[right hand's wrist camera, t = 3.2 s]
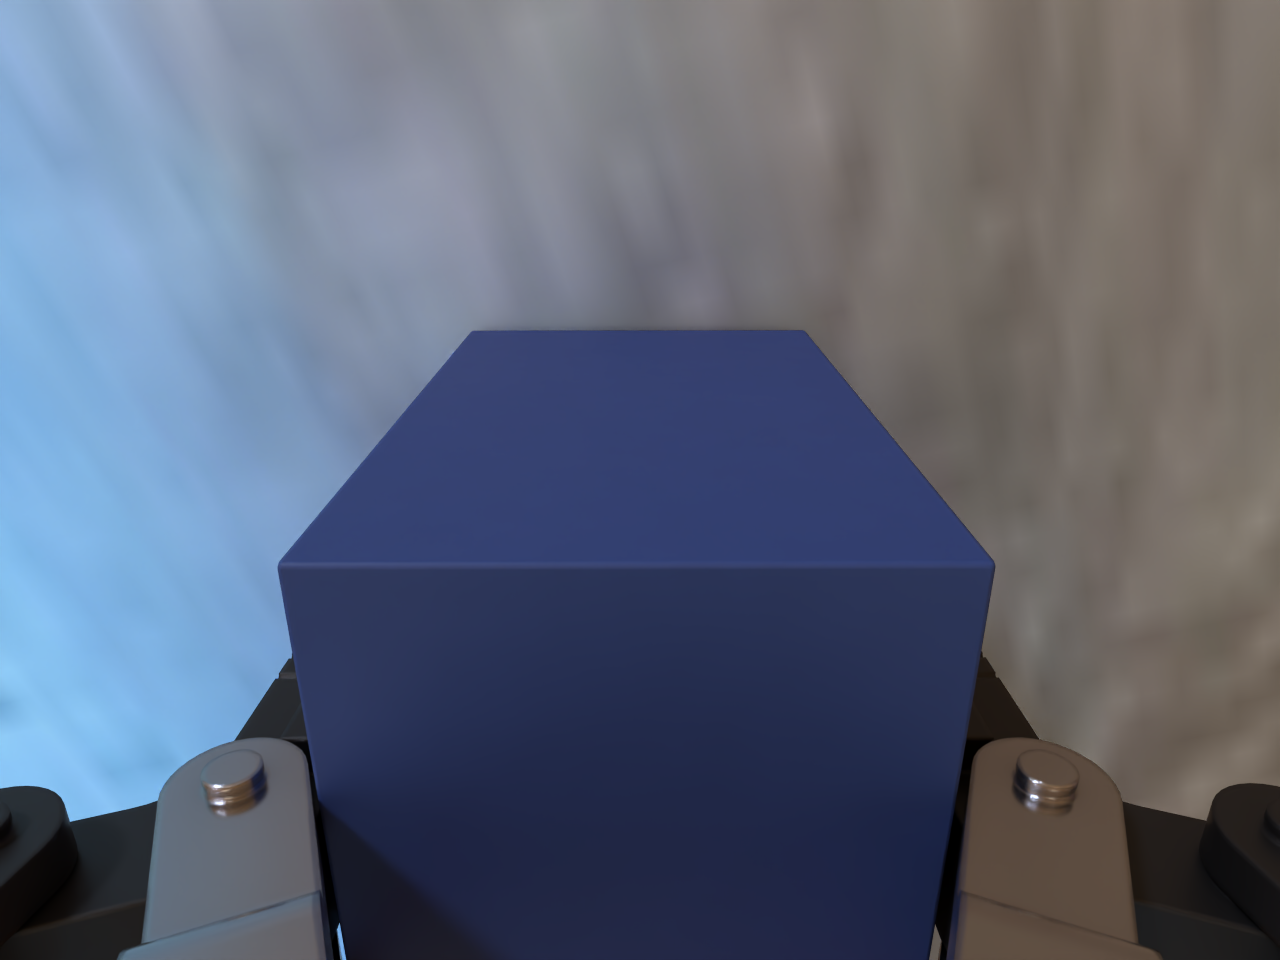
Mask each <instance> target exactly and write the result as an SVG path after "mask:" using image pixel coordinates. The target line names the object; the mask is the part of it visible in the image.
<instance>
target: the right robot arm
mask: <svg viewBox="0 0 1280 960" xmlns="http://www.w3.org/2000/svg"><path fill="white" fill-rule="evenodd" d="M339 923H340V921H339V915H338V909H337V904H336V898H335V892H334V887H333V881H332V875H331V870H330V864H329V858H328V852H327V847H326V841H325V835H324V830H323V824H322V818H321V813H320V807H319V801H318V795H317V790H316V784H315V778H314V773H313V767H312V761H311V756H310V750H309V744H308V739H307V733H306V727H305V721H304V716H303V710H302V704H301V699H300V693H299V687H298V682H297V676H296V670H295V664H294V659H293V653H292V659H288V661H287V662H286V664H285V665H284V667H283V668H282V670H281V671H280V673H279V678H278V679H275V680H274V682H273V683H272V685H271V686H270V688H269V689H268V691H267V692H266V694H265V695H264V697H263V698H262V700H261V701H260V703H259V704H258V706H257V707H256V709H255V710H254V712H253V713H252V715H251V716H250V718H249V719H248V721H247V722H246V724H245V726H244V727H243V729H242V730H241V732H240V733H239V735H238V736H237V738H236V739H235V741H233V742H229V743H226V744H222V745H220V746H217V747H214V748H212V749H209V750H207V751H205V752H203V753H201V754H199V755H198V756H196V757H194V758H193V759H191V760H189V761H188V762H187V763H185V764H184V765H183V766H181V767H180V768H179V769H178V770H177V771H176V772H175V773H174V774H173V775H172V776H171V777H170V778H169V779H168V780H167V782H166V783H165V784H164V786H163V788H162V790H161V792H160V794H159V798H158V801H155V802H152V803H150V804H147V805H143V806H139V807H135V808H131V809H127V810H122V811H118V812H113V813H109V814H104V815H99V816H95V817H90V818H86V819H81V820H77V821H72V822H70V821H69V818H68V814H67V811H66V808H65V805H64V802H63V801H62V799H61V797H60V796H59V795H58V794H56V793H55V792H53V791H51V790H49V789H46V788H42V787H35V786H16V787H8V788H2V789H0V960H342V955H341V949H340V944H339V938H338V932H337V928H338V925H339ZM935 924H936V927H937V930H938V932H939V935H940V938H941V944H940V949H939V955H938V960H1280V787H1278V786H1273V785H1266V784H1254V783H1247V784H1237V785H1233V786H1229V787H1227V788H1225V789H1222V790H1221V791H1220V792H1219V793H1218V794H1216V796H1215V798H1214V800H1213V802H1212V805H1211V808H1210V811H1209V815H1208V818H1207V821H1204V820H1200V819H1195V818H1191V817H1186V816H1182V815H1177V814H1173V813H1168V812H1163V811H1159V810H1154V809H1150V808H1145V807H1141V806H1137V805H1133V804H1129V803H1125V802H1123V801H1122V798H1121V795H1120V792H1119V790H1118V788H1117V786H1116V784H1115V783H1114V782H1113V780H1112V779H1111V778H1110V777H1109V776H1108V775H1107V774H1106V773H1105V772H1104V771H1103V770H1102V769H1101V768H1100V767H1099V766H1097V765H1096V764H1095V763H1093V762H1092V761H1091V760H1089V759H1087V758H1086V757H1084V756H1082V755H1081V754H1079V753H1077V752H1075V751H1073V750H1071V749H1068V748H1066V747H1063V746H1060V745H1058V744H1054V743H1051V742H1047V741H1043V740H1039V738H1038V737H1037V735H1036V734H1035V732H1034V731H1033V729H1032V728H1031V726H1030V724H1029V723H1028V721H1027V720H1026V718H1025V717H1024V715H1023V714H1022V712H1021V711H1020V709H1019V708H1018V706H1017V705H1016V703H1015V702H1014V700H1013V699H1012V697H1011V695H1010V694H1009V692H1008V691H1007V689H1006V688H1005V686H1004V685H1003V683H1002V682H1001V680H1000V679H999V678H996V676H995V671H994V669H993V668H992V666H991V665H990V663H989V662H988V660H987V659H986V658H983V655H982V651H981V655H980V661H979V667H978V673H977V678H976V684H975V690H974V696H973V702H972V708H971V714H970V720H969V726H968V732H967V738H966V744H965V749H964V755H963V761H962V767H961V773H960V779H959V785H958V791H957V797H956V803H955V809H954V815H953V820H952V826H951V832H950V838H949V844H948V850H947V856H946V862H945V868H944V874H943V880H942V886H941V891H940V897H939V903H938V909H937V915H936V921H935Z"/></svg>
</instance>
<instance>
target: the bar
mask: <svg viewBox="0 0 1280 960" xmlns="http://www.w3.org/2000/svg"><path fill="white" fill-rule="evenodd" d="M994 572H995V563H994V561H993V559H992V558H991V557H990V556H989V555H988V553H987V552H986V551H985V550H984V548H983V547H982V546H981V545H980V544H979V542H978V541H977V540H976V539H975V538H974V536H973V535H972V534H971V533H970V531H969V530H968V529H967V528H966V527H965V525H964V524H963V523H962V522H961V521H960V519H959V518H958V517H957V516H956V514H955V513H954V512H953V511H952V510H951V508H950V507H949V506H948V505H947V503H946V502H945V501H944V500H943V499H942V497H941V496H940V495H939V494H938V493H937V491H936V490H935V489H934V488H933V486H932V485H931V484H930V483H929V482H928V480H927V479H926V478H925V477H924V476H923V474H922V473H921V472H920V471H919V469H918V468H917V467H916V466H915V465H914V463H913V462H912V461H911V460H910V458H909V457H908V456H907V455H906V454H905V452H904V451H903V450H902V449H901V448H900V446H899V445H898V444H897V443H896V441H895V440H894V439H893V438H892V437H891V435H890V434H889V433H888V432H887V430H886V429H885V428H884V427H883V426H882V424H881V423H880V422H879V421H878V420H877V418H876V417H875V416H874V415H873V413H872V412H871V411H870V410H869V409H868V407H867V406H866V405H865V404H864V403H863V401H862V400H861V399H860V398H859V396H858V395H857V394H856V393H855V392H854V390H853V389H852V388H851V387H850V385H849V384H848V383H847V382H846V381H845V379H844V378H843V377H842V376H841V375H840V373H839V372H838V371H837V370H836V368H835V367H834V366H833V365H832V364H831V362H830V361H829V360H828V359H827V357H826V356H825V355H824V354H823V353H822V351H821V350H820V349H819V348H818V347H817V345H816V344H815V343H814V342H813V340H812V339H811V338H810V337H809V336H808V334H807V333H806V332H805V331H803V330H750V331H472V332H471V333H470V334H469V335H468V336H467V338H466V339H465V340H464V341H463V342H462V344H461V345H460V346H459V347H458V348H457V350H456V351H455V352H454V353H453V354H452V356H451V357H450V358H449V359H448V360H447V362H446V363H445V364H444V365H443V366H442V368H441V369H440V370H439V371H438V372H437V374H436V375H435V376H434V377H433V378H432V379H431V381H430V382H429V383H428V384H427V385H426V387H425V388H424V389H423V390H422V391H421V393H420V394H419V395H418V396H417V397H416V399H415V400H414V401H413V402H412V403H411V405H410V406H409V407H408V408H407V409H406V411H405V412H404V413H403V414H402V415H401V417H400V418H399V419H398V420H397V421H396V423H395V424H394V425H393V426H392V427H391V429H390V430H389V431H388V432H387V433H386V435H385V436H384V437H383V438H382V439H381V441H380V442H379V443H378V444H377V445H376V447H375V448H374V449H373V450H372V451H371V453H370V454H369V455H368V456H367V457H366V459H365V460H364V461H363V462H362V463H361V465H360V466H359V467H358V468H357V469H356V471H355V472H354V473H353V474H352V475H351V477H350V478H349V479H348V480H347V481H346V483H345V484H344V485H343V486H342V487H341V488H340V490H339V491H338V492H337V493H336V494H335V496H334V497H333V498H332V499H331V500H330V502H329V503H328V504H327V505H326V506H325V508H324V509H323V510H322V511H321V512H320V514H319V515H318V516H317V517H316V518H315V520H314V521H313V522H312V523H311V524H310V526H309V527H308V528H307V529H306V530H305V532H304V533H303V534H302V535H301V536H300V538H299V539H298V540H297V541H296V542H295V544H294V545H293V546H292V547H291V548H290V550H289V551H288V552H287V553H286V554H285V556H284V557H283V558H282V559H281V560H280V562H279V564H278V573H279V579H280V585H281V590H282V596H283V602H284V607H285V613H286V619H287V625H288V630H289V636H290V642H291V647H292V653H293V659H294V664H295V670H296V676H297V682H298V687H299V693H300V699H301V704H302V710H303V716H304V721H305V727H306V733H307V739H308V744H309V750H310V756H311V761H312V767H313V773H314V778H315V784H316V790H317V795H318V801H319V807H320V813H321V818H322V824H323V830H324V835H325V841H326V847H327V852H328V858H329V864H330V870H331V875H332V881H333V887H334V892H335V898H336V904H337V909H338V915H339V921H340V927H341V932H342V938H343V944H344V949H345V955H346V960H929V957H930V951H931V945H932V939H933V933H934V927H935V921H936V915H937V909H938V903H939V897H940V891H941V886H942V880H943V874H944V868H945V862H946V856H947V850H948V844H949V838H950V832H951V826H952V820H953V815H954V809H955V803H956V797H957V791H958V785H959V779H960V773H961V767H962V761H963V755H964V749H965V744H966V738H967V732H968V726H969V720H970V714H971V708H972V702H973V696H974V690H975V684H976V678H977V673H978V667H979V661H980V655H981V649H982V643H983V637H984V631H985V625H986V619H987V613H988V607H989V602H990V596H991V590H992V584H993V578H994Z"/></svg>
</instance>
